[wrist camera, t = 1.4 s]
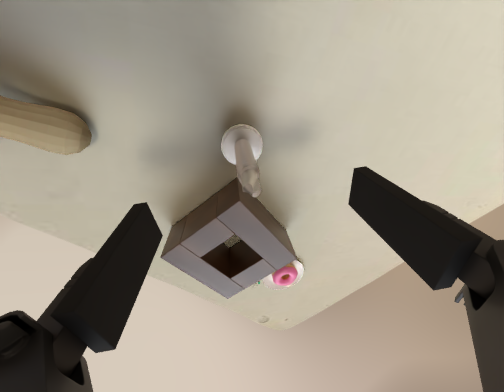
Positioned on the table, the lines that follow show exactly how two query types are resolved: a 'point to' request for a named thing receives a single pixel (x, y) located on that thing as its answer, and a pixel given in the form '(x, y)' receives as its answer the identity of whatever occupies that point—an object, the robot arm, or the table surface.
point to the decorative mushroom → (43, 127)
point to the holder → (219, 230)
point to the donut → (284, 276)
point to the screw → (244, 155)
